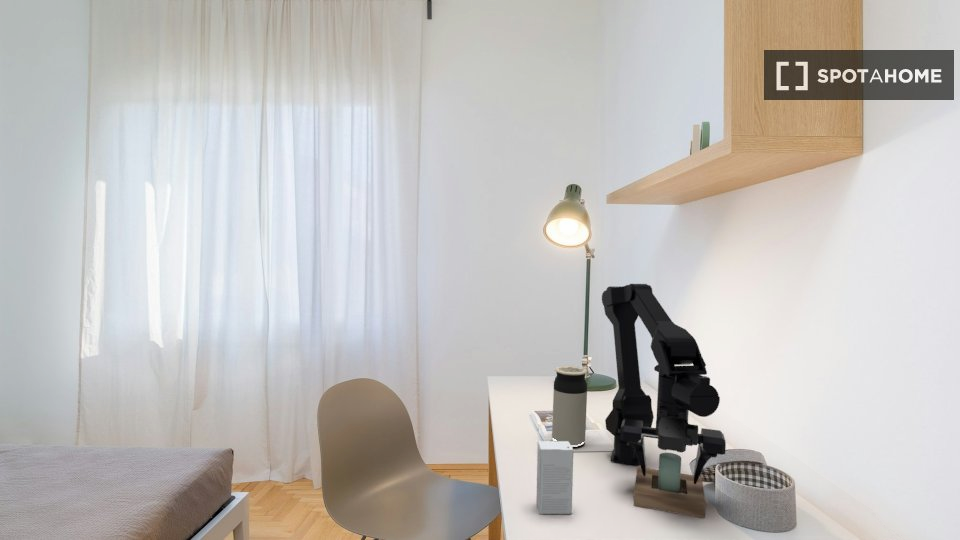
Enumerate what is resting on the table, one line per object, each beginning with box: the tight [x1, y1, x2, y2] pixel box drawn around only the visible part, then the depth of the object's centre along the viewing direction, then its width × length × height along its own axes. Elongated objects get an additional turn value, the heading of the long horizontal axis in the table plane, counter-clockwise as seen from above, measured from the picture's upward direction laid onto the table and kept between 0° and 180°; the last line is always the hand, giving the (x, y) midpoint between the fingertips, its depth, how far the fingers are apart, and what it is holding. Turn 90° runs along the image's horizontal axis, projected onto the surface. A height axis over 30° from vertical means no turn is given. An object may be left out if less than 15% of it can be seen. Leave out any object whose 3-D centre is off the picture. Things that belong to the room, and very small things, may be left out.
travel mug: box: [551, 365, 588, 445], centre depth 133 cm, size 8×8×18 cm
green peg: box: [657, 452, 682, 493], centre depth 106 cm, size 4×4×8 cm
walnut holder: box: [633, 466, 707, 519], centre depth 106 cm, size 12×12×2 cm
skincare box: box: [535, 440, 574, 515], centre depth 100 cm, size 6×4×12 cm
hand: (669, 479), depth 106 cm, fingers open, 9 cm apart
